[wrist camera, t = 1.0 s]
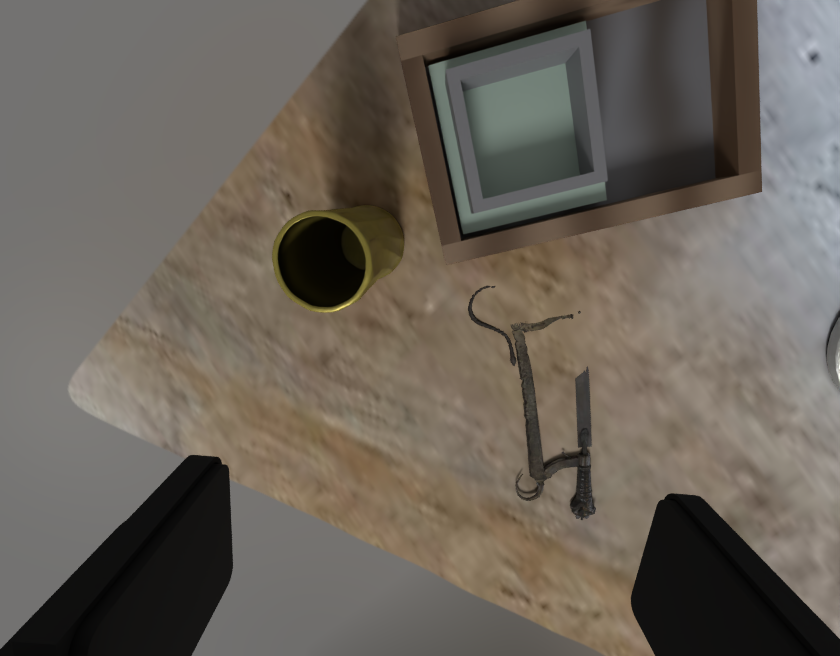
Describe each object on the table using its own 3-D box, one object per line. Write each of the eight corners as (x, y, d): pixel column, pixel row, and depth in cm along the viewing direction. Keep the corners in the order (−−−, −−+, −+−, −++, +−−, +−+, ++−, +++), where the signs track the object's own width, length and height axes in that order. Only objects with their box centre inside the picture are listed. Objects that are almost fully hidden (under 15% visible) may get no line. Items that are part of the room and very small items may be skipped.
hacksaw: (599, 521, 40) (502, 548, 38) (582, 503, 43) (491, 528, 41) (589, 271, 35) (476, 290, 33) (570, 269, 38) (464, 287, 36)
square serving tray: (579, 28, 30) (602, -2, 25) (601, 200, 32) (623, 198, 28) (428, 71, 31) (427, 49, 27) (462, 233, 34) (465, 236, 30)
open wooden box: (723, -42, 29) (755, -70, 26) (733, 193, 33) (762, 191, 30) (399, 53, 31) (395, 36, 28) (445, 260, 35) (446, 265, 32)
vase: (352, 290, 36) (298, 339, 22) (319, 224, 35) (239, 232, 21) (416, 261, 35) (401, 292, 21) (384, 192, 34) (346, 178, 20)
